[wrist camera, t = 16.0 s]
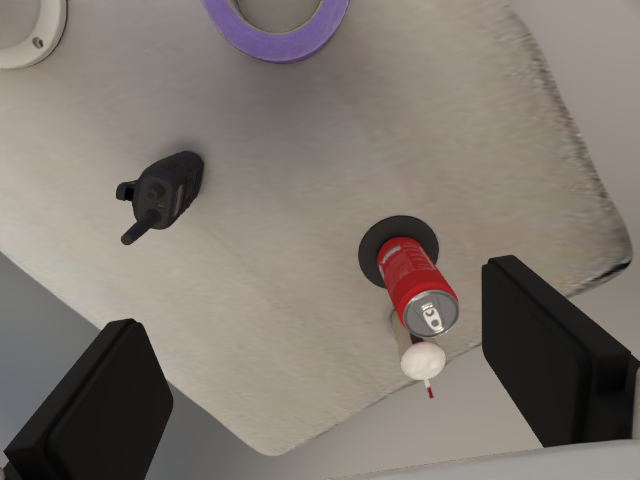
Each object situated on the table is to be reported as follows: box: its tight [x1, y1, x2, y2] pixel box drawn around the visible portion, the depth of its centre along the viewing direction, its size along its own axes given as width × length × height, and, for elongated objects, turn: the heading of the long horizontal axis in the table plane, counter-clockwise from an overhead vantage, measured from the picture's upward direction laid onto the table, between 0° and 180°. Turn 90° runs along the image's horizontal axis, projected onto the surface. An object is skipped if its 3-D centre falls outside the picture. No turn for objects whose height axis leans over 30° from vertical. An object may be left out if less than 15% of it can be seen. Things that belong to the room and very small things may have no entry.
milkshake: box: [391, 310, 445, 399], centre depth 42 cm, size 4×5×10 cm
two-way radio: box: [116, 151, 204, 245], centre depth 32 cm, size 6×4×15 cm
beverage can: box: [377, 237, 459, 338], centre depth 37 cm, size 5×5×12 cm
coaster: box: [358, 216, 439, 289], centre depth 43 cm, size 9×9×1 cm
